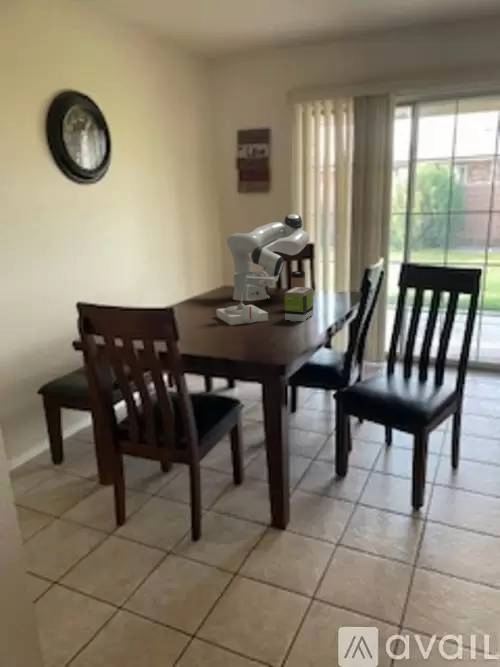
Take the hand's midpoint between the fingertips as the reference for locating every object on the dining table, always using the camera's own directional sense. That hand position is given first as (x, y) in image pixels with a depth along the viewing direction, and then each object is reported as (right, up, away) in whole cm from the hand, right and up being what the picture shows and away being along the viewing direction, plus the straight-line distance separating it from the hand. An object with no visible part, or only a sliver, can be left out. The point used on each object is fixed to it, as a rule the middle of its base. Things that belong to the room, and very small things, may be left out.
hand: (250, 282), depth 259 cm
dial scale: (-4, -19, -5) cm, 20 cm away
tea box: (+25, -19, -7) cm, 32 cm away
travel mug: (+26, -13, +14) cm, 32 cm away
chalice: (-5, -14, -7) cm, 16 cm away
